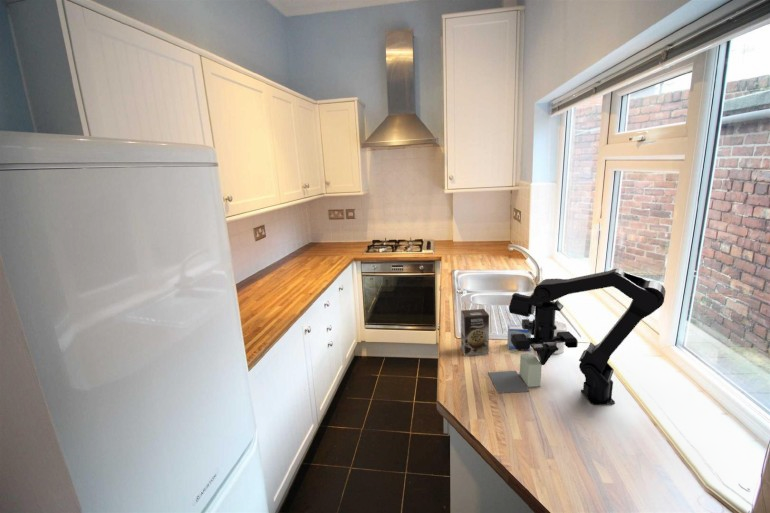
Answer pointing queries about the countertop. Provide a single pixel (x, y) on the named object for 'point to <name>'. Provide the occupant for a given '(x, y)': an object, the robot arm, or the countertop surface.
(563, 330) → the white cup
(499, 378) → the mat
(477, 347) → the brown cookie box
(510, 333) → the medicine box
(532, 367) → the sage block
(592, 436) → the countertop surface
